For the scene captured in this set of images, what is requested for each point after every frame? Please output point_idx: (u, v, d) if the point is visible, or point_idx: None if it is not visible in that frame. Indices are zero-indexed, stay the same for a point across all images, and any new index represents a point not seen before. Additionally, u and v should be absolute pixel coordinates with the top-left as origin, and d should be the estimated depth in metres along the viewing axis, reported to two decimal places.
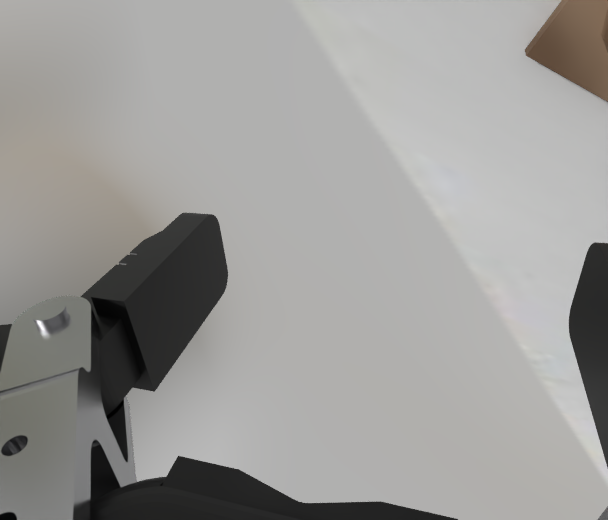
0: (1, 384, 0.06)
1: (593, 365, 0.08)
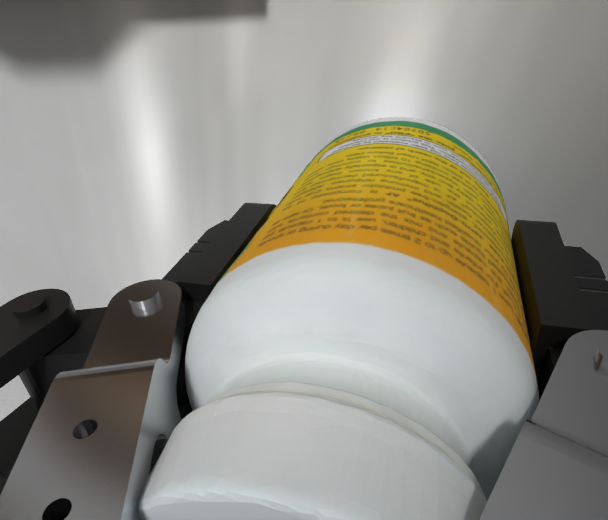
0: (90, 359, 0.07)
1: None
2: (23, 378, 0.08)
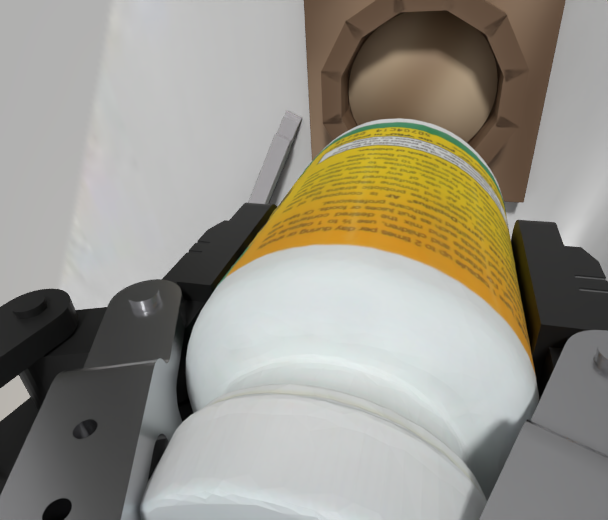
0: (90, 359, 0.07)
1: None
2: (23, 378, 0.08)
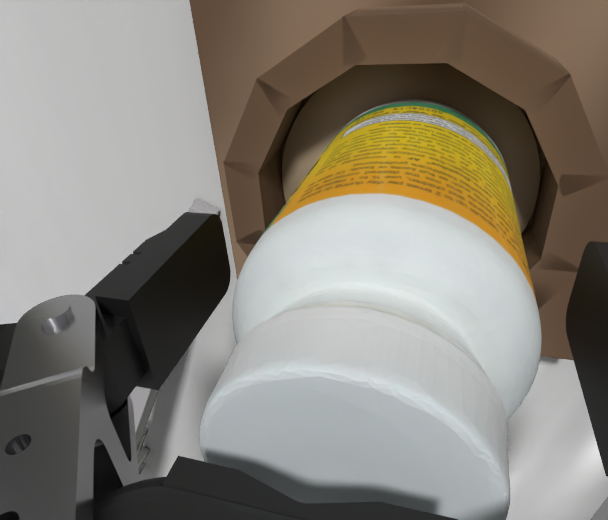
0: (5, 382, 0.06)
1: (589, 363, 0.08)
2: None
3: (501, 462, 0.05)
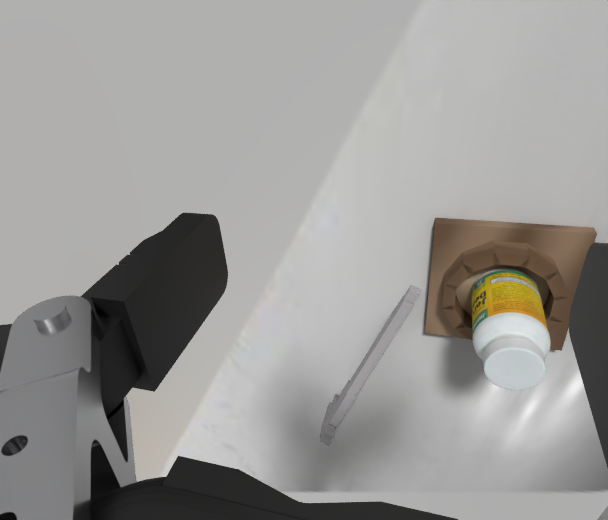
0: (1, 384, 0.06)
1: (593, 365, 0.08)
2: None
3: (544, 363, 0.32)
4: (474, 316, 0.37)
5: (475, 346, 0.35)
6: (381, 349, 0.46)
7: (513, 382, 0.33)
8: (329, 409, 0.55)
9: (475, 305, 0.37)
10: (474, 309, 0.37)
